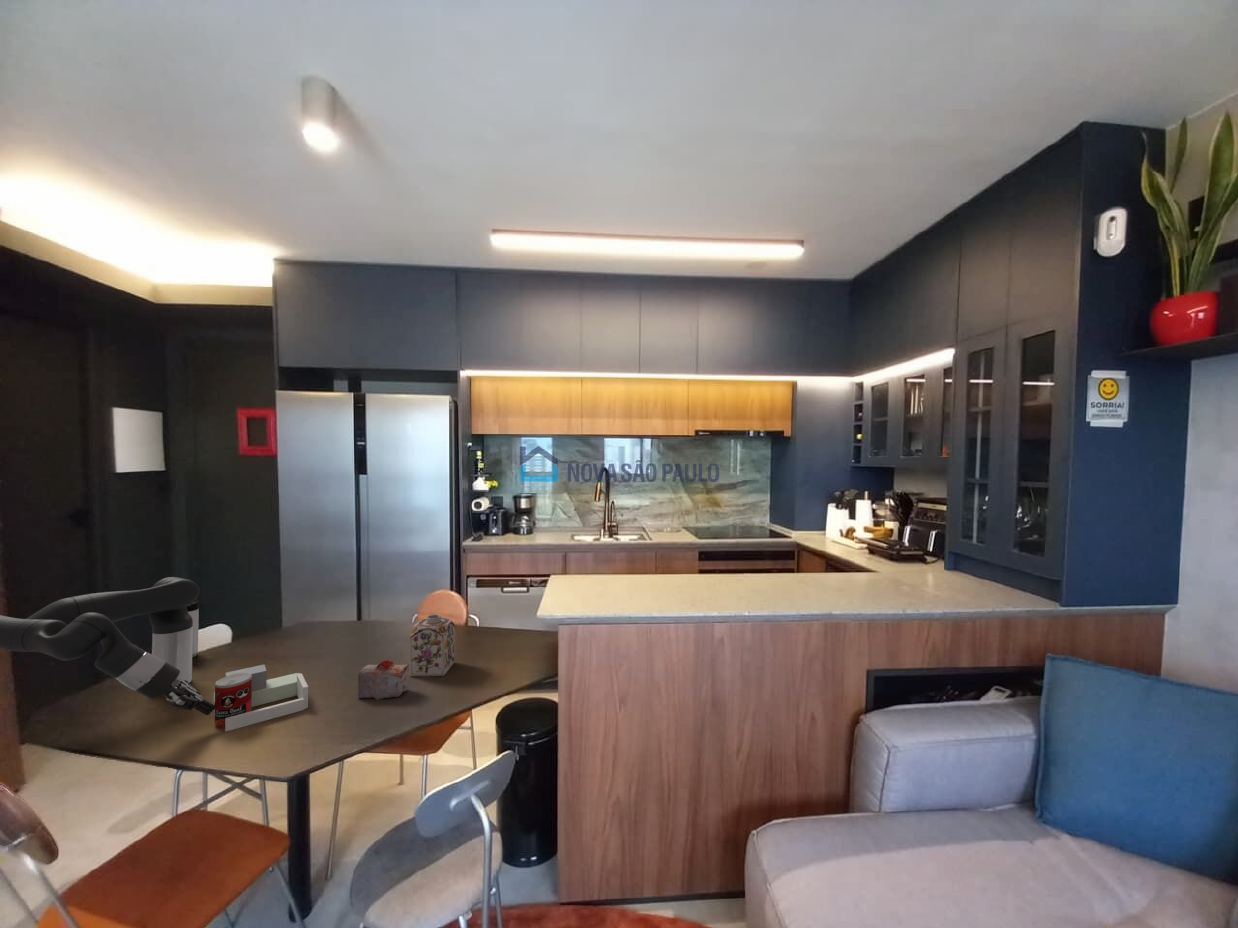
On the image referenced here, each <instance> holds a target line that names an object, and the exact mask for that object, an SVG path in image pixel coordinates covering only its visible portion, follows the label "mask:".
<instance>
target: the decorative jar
mask: <svg viewBox="0 0 1238 928" xmlns="http://www.w3.org/2000/svg"><path fill="white" fill-rule="evenodd" d="M455 662H456V624H455V622H454V621H452V620H451V619H449V618H448V617H447V618H446V617H442V615H441V614H438V613H436V614H430V615H427V616H426V618H425V619H422V620H419V621H417V622H416V623H414V625H413V628H412V630H411V632H410V635H409V677H444V676H445V675H446V674H447V673H448V672H449V670H450V669H451V668H452V667H453V665H454V664H455Z"/></svg>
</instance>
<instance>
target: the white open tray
mask: <svg viewBox="0 0 1238 928" xmlns="http://www.w3.org/2000/svg"><path fill="white" fill-rule="evenodd" d="M239 673H249V674H251V675H252V705H251V708H254V707H257V706H261V705H265V704H268V703H273V702H276V701H281V700H285V699H288V698H293V697H295V696H297V699H293V700H288V701H285V702H282V703H278V704H274V705H269V706H266V707H262V708H259V709H255V710H251V711H250V712H247V713H243V714H239V715H235V716H231V717H228V718H225V727H224V728H225V729H224V730H225V732H229V731H233V730H236V729H240V728H244V727H247V726H251V725H254V724H259V723H262V722H265V721H268V720H272V719H276V718H280V717H283V716H287V715H290V714H294V713H298V712H301V711H305V709H308V708H309V684H308V683H307V682H306V679H305V677H304V674H302V672H301V673H299V672H295V673H290V674H287V675H282V676H277V677H274V678H270V679H267V678H268V676H267V675H268V674H267V673H268V670H267V668H266V665H265V664H260V665H259V664H258V665H255V666H252V667H251V666H250V667H245V668H241V669H237V670H231V671H227V672H225V677H226V676H230V675H233V674H239ZM213 705H215V691H214V692H213ZM214 716H215V709H214V710H213V717H214Z"/></svg>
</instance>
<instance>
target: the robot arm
mask: <svg viewBox="0 0 1238 928" xmlns="http://www.w3.org/2000/svg"><path fill="white" fill-rule="evenodd" d="M200 592H201V590H200V587H199V585H198V584H197V583H196V582H195V581H193V580H191V579H188V578H182V577H176V576H170V577H169V576H168V577H165V578H161V579H160V580H158V581H157V582H155V583H154V584H153V586H152V587H150V588H149V587H148V588H143V589H137V590H135V589H134V590H118V591H104V592H96V593H86V594H82V595H76V596H71V597H66V598H61V599H58V600H56V601H54V602H51V603H49V604H48V605H46V606H45V607H42V608H41V609H39V610H38V611H36V612H35V613H33V614H31V615H30V616H28V617H27V618H16V617H10V616H6V615H1V614H0V649H3V650H6V651H9V652H18V653H19V652H20V653H21V652H23V653H26V652H27V653H41V654H44V655H48V656H50V657H53V658H55V659H57V660H60V661H67V662H68V661H74V660H77V659H80V658H81V657H82V658H83V656H84V655H86V654H87V653H88V652H90V651H91V650H92V649H93V648H94V647H95V646H97V645H98V644H99V642H100V644H101V647H102V650H101V653H100V654H99V655H98V657H97V658H96V659H95V660H94V667H95V668H96V669H97V670H99V671H101V672H103V673H104V674H106V675H108V676H110V677H111V678H114V679H115V680H117V681H118V682H119V683H120V684H122V685H123V686H125V687H127V688H129V689H131V690H132V691H134V692H136V693H138V694H140V695H142V696H143V697H145V698H147V699H149V700H153V699H155V698H158V696H159V695H163V696H164V697H165V699H166V701H168V702H170V703H172V704H171V705H172V707H174V708H176V709H177V708H178V709H182V710H187V711H191V712H192V711H193V710H194V709H195V710H197V711H198V712H200V713H201V714H203V715H205V716H209V715H210V714H211V713H212V712H214V709H215V705H214V703H212V702H210V701H208V700H207V699H204V697H203V696H202V693H201V692H200V691H199V690H197V688H196V687H194V686H193V685H192V684H191V682H192V679H193V657H192V634H193V619H192V617H191V616H190V615H189V613H188V611H187V606H188V605H190V604H191V603H193V602H194V601H195V600H198V597H199V595H200ZM146 614H148V617H149V618H148V619H149V623H150V626H151V629H152V631H151V632H152V639H151V640H152V641H151V642H152V644H151V653H150V652H147V651H146V650H144V649H142V648H141V647H139V646H137V645H136V644H134V643H133V642H131V641H130V640H129V639H128V638H127V637H126V636H125V635H124V634H123V633H122V632H121V630H120V629H118V627H117V626H116V624H114V622H120V621H122V620H127V619H130V618H133V617H137V616H141V615H146Z"/></svg>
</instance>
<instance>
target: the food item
mask: <svg viewBox="0 0 1238 928" xmlns="http://www.w3.org/2000/svg"><path fill="white" fill-rule="evenodd" d="M409 671H410V663H409V664H408V663H407V664H394V661H392V660H389V659H387V660H383V661H381V662H380V663H378V664H367V665H364V666H363V667H362V668H361V669H360V670H359V671H358V673H357V675H358V677H357V678H358V679H357V680H358V683H357V684H358V685H357V687H358V688H357V690H358V692H357V698H358V699H365V698H366V699H367V698H368V699H373V698H374V699H375V700H383V699H385V698H398V697H400V696H401V695H402V694H403V693H404V692H406V691H407V690H408V673H409Z"/></svg>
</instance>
